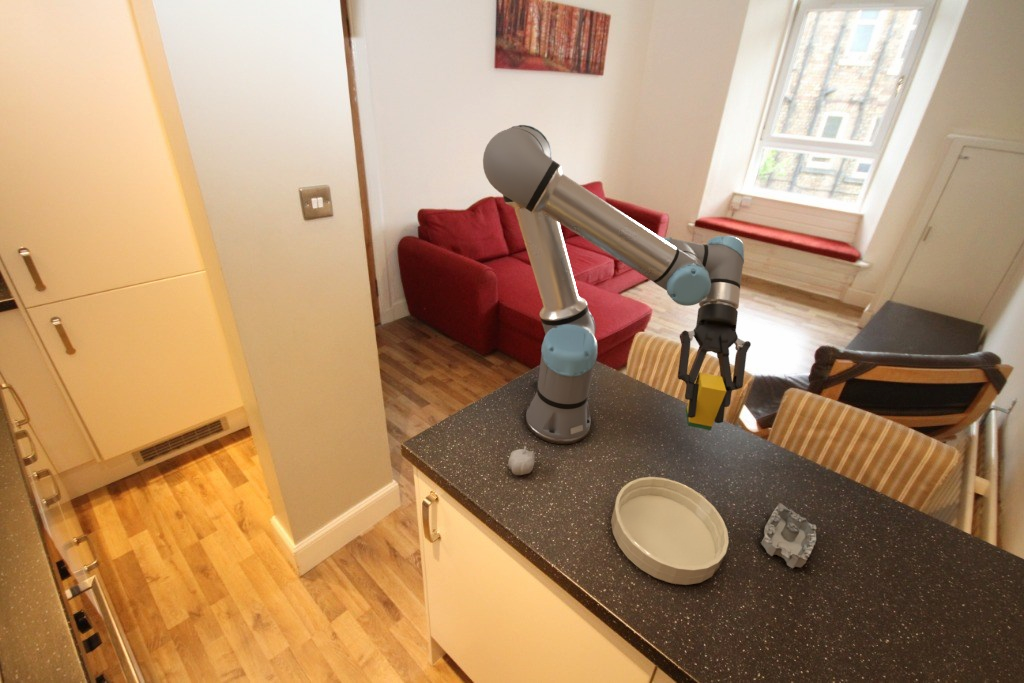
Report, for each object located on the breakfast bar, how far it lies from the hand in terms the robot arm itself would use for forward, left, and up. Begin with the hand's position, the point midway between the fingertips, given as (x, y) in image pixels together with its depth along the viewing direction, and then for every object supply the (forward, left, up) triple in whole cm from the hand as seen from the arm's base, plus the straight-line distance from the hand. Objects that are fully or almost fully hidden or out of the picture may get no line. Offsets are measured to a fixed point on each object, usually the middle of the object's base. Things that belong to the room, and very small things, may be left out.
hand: (704, 419), depth 87 cm
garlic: (-14, -32, -15) cm, 38 cm away
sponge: (-3, +2, -3) cm, 5 cm away
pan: (+10, -15, -15) cm, 23 cm away
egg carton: (+20, +5, -15) cm, 25 cm away
